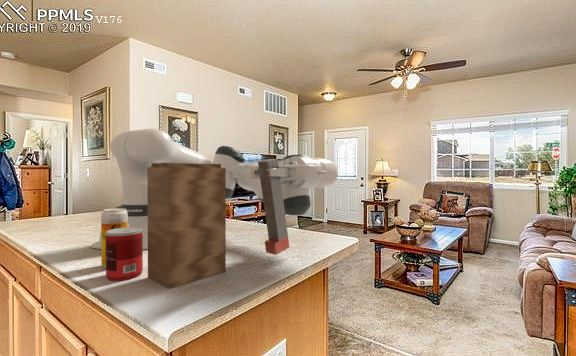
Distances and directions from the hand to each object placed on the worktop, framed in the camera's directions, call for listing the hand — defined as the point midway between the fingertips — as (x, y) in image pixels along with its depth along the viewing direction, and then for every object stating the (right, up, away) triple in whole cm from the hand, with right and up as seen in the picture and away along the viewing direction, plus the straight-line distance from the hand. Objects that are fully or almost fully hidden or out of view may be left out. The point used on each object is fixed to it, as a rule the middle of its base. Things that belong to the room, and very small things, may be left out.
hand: (261, 172), depth 73 cm
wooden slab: (-18, -25, +1) cm, 31 cm away
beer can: (-40, -25, +8) cm, 48 cm away
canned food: (-33, -25, 0) cm, 41 cm away
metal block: (+4, -8, +5) cm, 10 cm away
